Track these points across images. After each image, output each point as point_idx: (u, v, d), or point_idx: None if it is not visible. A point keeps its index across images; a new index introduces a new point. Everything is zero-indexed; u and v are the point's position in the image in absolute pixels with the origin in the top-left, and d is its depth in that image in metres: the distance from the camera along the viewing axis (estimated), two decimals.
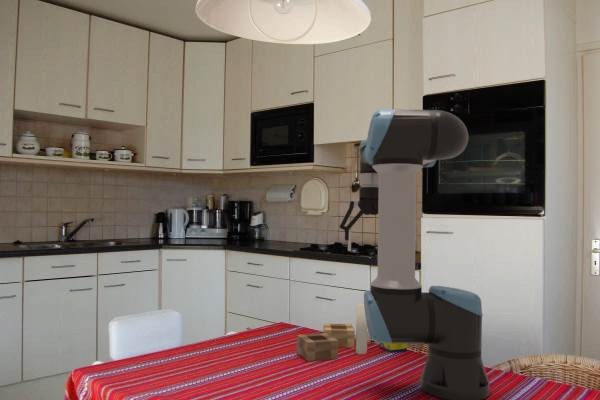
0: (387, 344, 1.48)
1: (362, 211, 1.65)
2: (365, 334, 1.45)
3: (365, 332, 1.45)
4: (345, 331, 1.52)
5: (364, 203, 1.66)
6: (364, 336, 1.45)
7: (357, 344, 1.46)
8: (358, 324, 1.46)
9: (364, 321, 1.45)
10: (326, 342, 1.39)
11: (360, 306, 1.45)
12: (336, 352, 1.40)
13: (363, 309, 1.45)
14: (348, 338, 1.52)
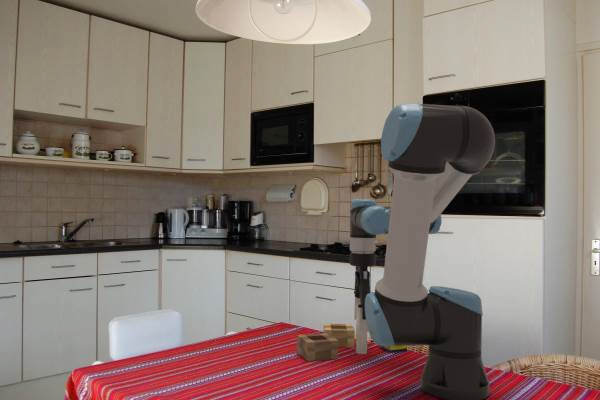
0: None
1: (355, 278, 1.50)
2: (365, 334, 1.45)
3: (365, 332, 1.45)
4: (345, 331, 1.52)
5: (357, 270, 1.49)
6: (364, 336, 1.45)
7: (357, 344, 1.46)
8: (358, 324, 1.46)
9: None
10: (326, 342, 1.39)
11: None
12: (336, 352, 1.40)
13: None
14: (348, 338, 1.52)
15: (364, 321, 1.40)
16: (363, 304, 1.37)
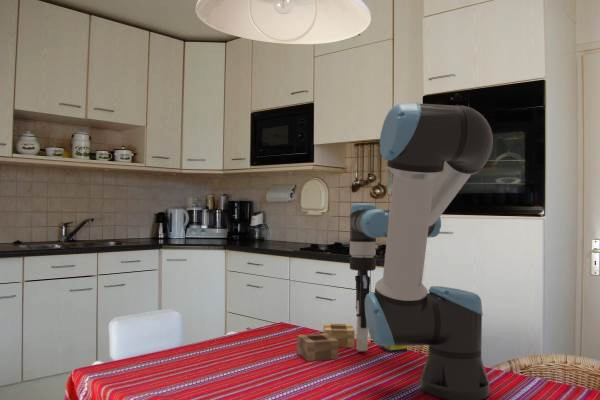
0: None
1: (356, 285, 1.48)
2: None
3: None
4: (345, 331, 1.52)
5: None
6: None
7: (357, 341, 1.45)
8: None
9: None
10: (326, 342, 1.39)
11: None
12: (336, 352, 1.40)
13: None
14: (348, 338, 1.52)
15: (362, 329, 1.44)
16: (361, 314, 1.41)
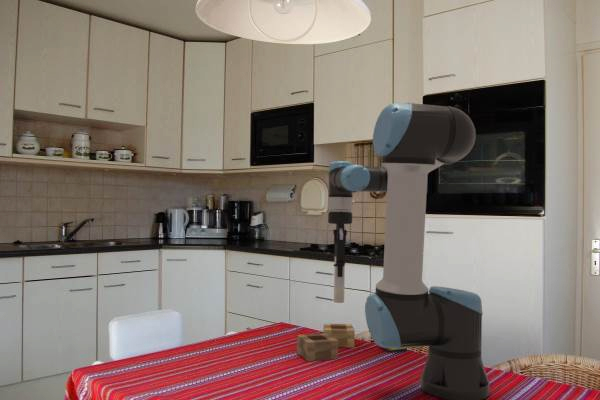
0: None
1: (334, 238, 1.59)
2: None
3: None
4: (345, 331, 1.52)
5: None
6: None
7: (335, 294, 1.56)
8: None
9: None
10: (326, 342, 1.39)
11: None
12: (336, 352, 1.40)
13: None
14: (348, 338, 1.52)
15: (339, 278, 1.55)
16: (338, 263, 1.52)
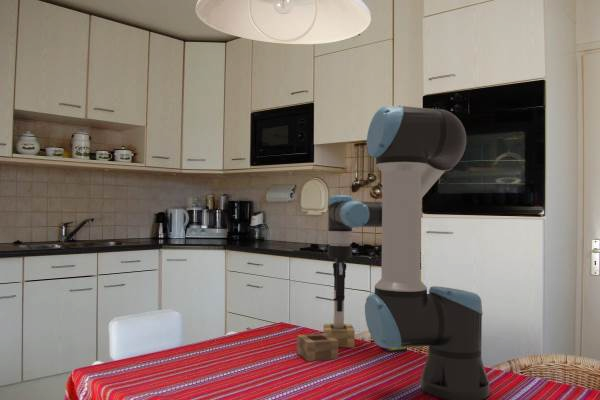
0: None
1: (333, 272, 1.59)
2: None
3: None
4: (345, 331, 1.52)
5: (335, 260, 1.60)
6: None
7: (334, 328, 1.56)
8: None
9: None
10: (326, 342, 1.39)
11: None
12: (336, 352, 1.40)
13: None
14: (348, 338, 1.52)
15: (339, 313, 1.55)
16: (337, 298, 1.52)
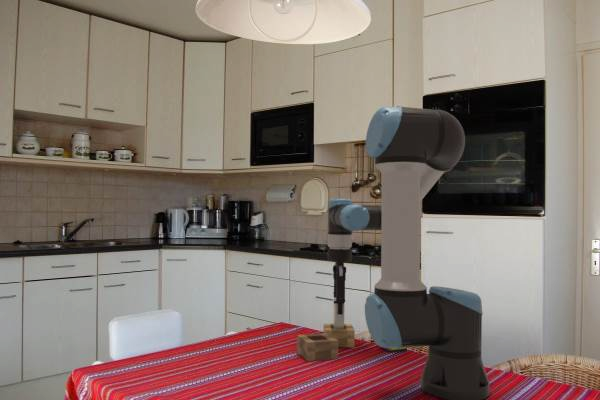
0: None
1: (333, 274, 1.59)
2: (341, 326, 1.55)
3: None
4: (345, 331, 1.52)
5: (335, 264, 1.59)
6: (341, 328, 1.55)
7: None
8: None
9: None
10: (326, 342, 1.39)
11: None
12: (336, 352, 1.40)
13: None
14: (348, 338, 1.52)
15: (339, 316, 1.52)
16: (338, 300, 1.50)
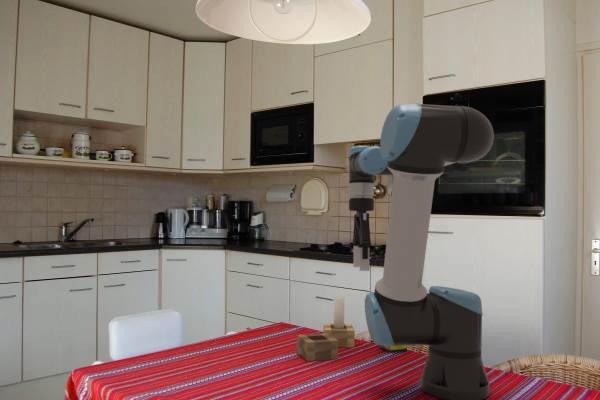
0: None
1: (354, 225, 1.54)
2: (341, 326, 1.55)
3: (342, 324, 1.55)
4: (345, 331, 1.52)
5: (356, 216, 1.54)
6: (341, 328, 1.55)
7: None
8: (335, 317, 1.55)
9: (341, 314, 1.55)
10: (326, 342, 1.39)
11: (337, 300, 1.55)
12: (336, 352, 1.40)
13: (340, 303, 1.55)
14: (348, 338, 1.52)
15: (364, 261, 1.44)
16: (363, 243, 1.41)
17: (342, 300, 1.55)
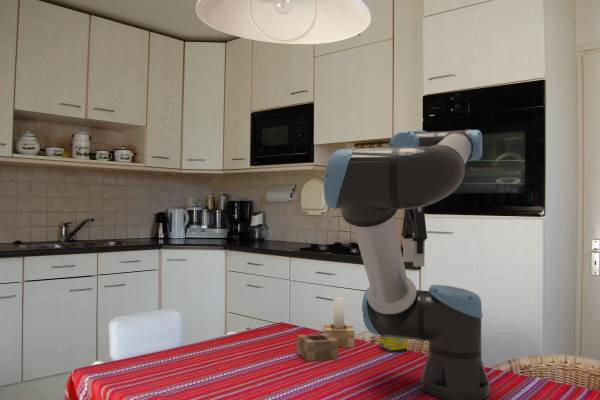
0: (387, 344, 1.48)
1: (405, 216, 1.42)
2: (341, 326, 1.55)
3: (342, 324, 1.55)
4: (345, 331, 1.52)
5: None
6: (341, 328, 1.55)
7: None
8: (335, 317, 1.55)
9: (341, 314, 1.55)
10: (326, 342, 1.39)
11: (337, 300, 1.55)
12: (336, 352, 1.40)
13: (340, 303, 1.55)
14: (348, 338, 1.52)
15: (419, 256, 1.32)
16: (419, 236, 1.29)
17: (342, 300, 1.55)
